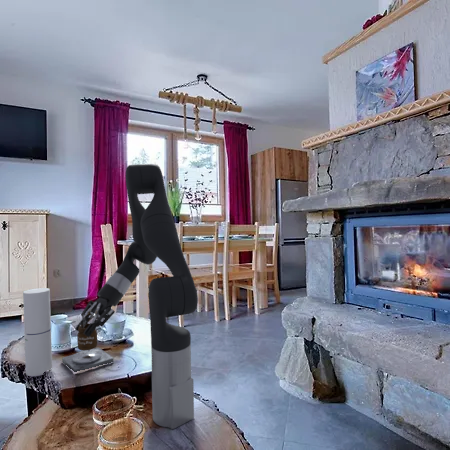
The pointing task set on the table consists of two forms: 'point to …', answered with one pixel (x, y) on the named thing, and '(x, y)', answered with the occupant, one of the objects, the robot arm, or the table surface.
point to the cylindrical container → (37, 331)
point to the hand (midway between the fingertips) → (81, 332)
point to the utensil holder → (86, 338)
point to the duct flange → (87, 359)
